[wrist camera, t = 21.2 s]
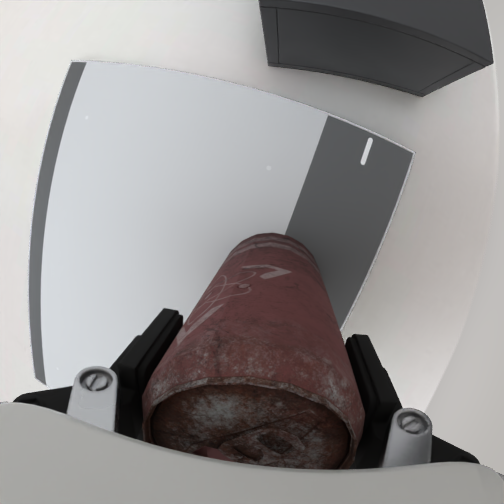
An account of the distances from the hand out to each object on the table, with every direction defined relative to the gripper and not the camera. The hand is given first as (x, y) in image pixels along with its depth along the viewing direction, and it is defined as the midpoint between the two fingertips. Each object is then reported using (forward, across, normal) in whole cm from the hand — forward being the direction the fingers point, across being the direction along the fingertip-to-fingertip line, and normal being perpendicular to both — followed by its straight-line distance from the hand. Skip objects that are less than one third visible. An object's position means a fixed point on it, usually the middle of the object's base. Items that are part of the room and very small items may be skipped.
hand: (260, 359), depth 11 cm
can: (+9, 0, 0) cm, 9 cm away
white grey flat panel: (+9, +8, +3) cm, 13 cm away
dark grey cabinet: (+9, -4, -20) cm, 22 cm away
